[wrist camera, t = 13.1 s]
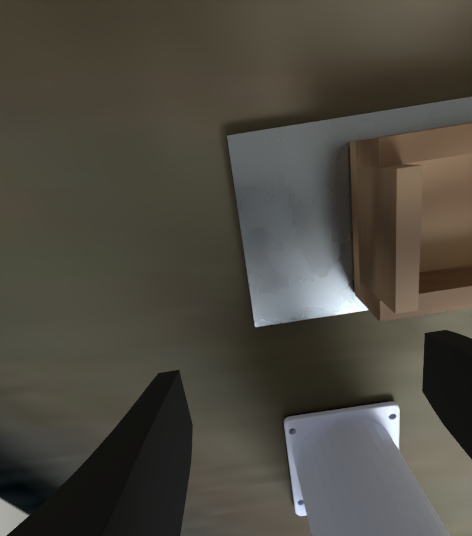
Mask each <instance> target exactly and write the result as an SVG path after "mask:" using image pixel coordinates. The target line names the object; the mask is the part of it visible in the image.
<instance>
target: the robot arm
mask: <svg viewBox="0 0 472 536" xmlns="http://www.w3.org/2000/svg"><path fill="white" fill-rule="evenodd" d="M422 391H423V393H424V395H425V396H426V398H427V399H428V401H429V403H430V404H431V406H432V408H433V409H434V411H435V412H436V414H437V415H438V417H439V418H440V420H441V421H442V423H443V424H444V426H445V427H446V428H447V429H448V431H449V432H450V433H451V434H452V436H453V437H454V438H455V439H456V441H457V442H458V443H459V444H460V446H461V447H462V448H463V449H464V450H465V452H466V453H467V454H468V455H469V457H470V458H471V459H472V339H471V338H469V337H466V336H463V335H460V334H458V333H455V332H451V331H448V330H442V331H436V332H429V333H425V343H424V366H423V389H422ZM391 414H392V415H391ZM399 414H400V409H399V406H398V405H397V404H396V403H395V402H384V403H377V404H370V405H363V406H357V407H350V408H343V409H336V410H330V411H323V412H316V413H309V414H302V415H296V416H289V417H287V418H286V419H285V420H284V430H285V438H286V445H287V453H288V461H289V468H290V476H291V484H292V492H293V499H294V507H295V512H296V514H297V515H299V516H305V515H307V518H308V522H309V526H310V531H311V535H312V536H450V534H449V532H448V531H447V529H446V527H445V526H444V524H443V522H442V521H441V519H440V517H439V516H438V514H437V512H436V511H435V509H434V507H433V506H432V504H431V502H430V501H429V499H428V497H427V496H426V494H425V492H424V491H423V489H422V487H421V486H420V484H419V482H418V481H417V479H416V477H415V476H414V474H413V472H412V471H411V469H410V467H409V466H408V464H407V463H406V461H405V459H404V458H403V456H402V454H401V453H400V451H399ZM192 426H193V425H192V421H191V417H190V413H189V409H188V405H187V400H186V396H185V392H184V388H183V384H182V380H181V376H180V372H179V370H176V371H169V372H163V373H158V375H157V376H156V377H155V378H154V379H153V381H152V382H151V383H150V385H149V386H148V387H147V388H146V390H145V391H144V392H143V394H142V395H141V396H140V397H139V399H138V400H137V401H136V403H135V404H134V405H133V406H132V408H131V409H130V410H129V411H128V413H127V414H126V415H125V416H124V418H123V419H122V420H121V421H120V422H119V424H118V425H117V426H116V427H115V429H114V430H113V431H112V432H111V433H110V434H109V435H108V437H107V438H106V439H105V440H104V441H103V442H102V443H101V444H100V446H99V447H98V448H97V449H96V450H95V451H94V452H93V454H92V455H91V456H90V457H89V458H88V459H87V460H86V461H85V462H84V463H83V464H82V466H81V467H80V468H79V469H78V470H77V471H76V472H75V473H74V474H73V475H72V476H71V477H70V478H69V479H68V480H67V481H66V482H65V483H64V484H63V485H62V486H61V487H60V488H59V489H58V490H57V491H56V492H55V493H54V494H52V495H51V496H50V497H49V498H48V499H47V500H46V501H45V502H44V503H43V504H42V505H41V506H40V507H39V508H38V509H36V510H35V511H34V512H33V513H32V514H31V515H30V516H28V517H27V518H26V519H25V520H24V521H23V522H22V523H20V524H19V525H18V526H17V527H16V528H15V529H14V530H13V531H12V532H10V533H9V534H8V535H7V536H180V533H181V526H182V519H183V513H184V506H185V500H186V493H187V486H188V480H189V473H190V466H191V454H192ZM292 428H293V430H290V429H292Z"/></svg>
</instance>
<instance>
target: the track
mask: <svg viewBox="0 0 472 536" xmlns="http://www.w3.org/2000/svg"><path fill="white" fill-rule="evenodd" d="M470 122H472V97H466V98H460V99H454V100H447V101H441V102H435V103H428V104H422V105H416V106H410V107H403V108H397V109H391V110H384V111H378V112H372V113H366V114H359V115H353V116H347V117H340V118H334V119H328V120H322V121H315V122H309V123H303V124H296V125H290V126H284V127H278V128H271V129H265V130H259V131H252V132H246V133H240V134H234V135H227V141H228V148H229V154H230V161H231V168H232V175H233V182H234V188H235V195H236V202H237V209H238V215H239V222H240V229H241V236H242V243H243V249H244V256H245V263H246V270H247V277H248V283H249V290H250V297H251V304H252V310H253V317H254V324H255V327H260V326H267V325H273V324H280V323H287V322H293V321H300V320H306V319H313V318H320V317H326V316H333V315H339V314H346V313H353V312H359V311H366V310H369V309H368V308H367V307H366V306H365V305H364V304H363V303H362V302H361V301H360V300H359V299H358V298H357V297H356V296H355V283H354V254H353V225H352V196H351V167H350V141H356V140H363V139H369V138H375V137H382V136H388V135H394V134H401V133H407V132H413V131H420V130H426V129H432V128H439V127H445V126H451V125H458V124H464V123H470Z"/></svg>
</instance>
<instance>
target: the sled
mask: <svg viewBox="0 0 472 536" xmlns="http://www.w3.org/2000/svg"><path fill="white" fill-rule="evenodd" d="M350 167H351V196H352V225H353V254H354V283H355V296H356V297H357V298H358V299H359V300H360V301H361V302H362V303H363V304H364V305H365V306H366V307H367V308H368V309H369V310H370V312H371V313H372V314H373V315H374V316H375V317H376V318H377V319H378V320H379V321H380V322H381V321H388V320H395V319H401V318H408V317H415V316H421V315H428V314H434V313H441V312H448V311H454V310H461V309H468V308H472V122H470V123H464V124H458V125H451V126H445V127H439V128H432V129H426V130H420V131H413V132H407V133H401V134H394V135H388V136H382V137H375V138H369V139H363V140H356V141H350Z"/></svg>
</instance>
